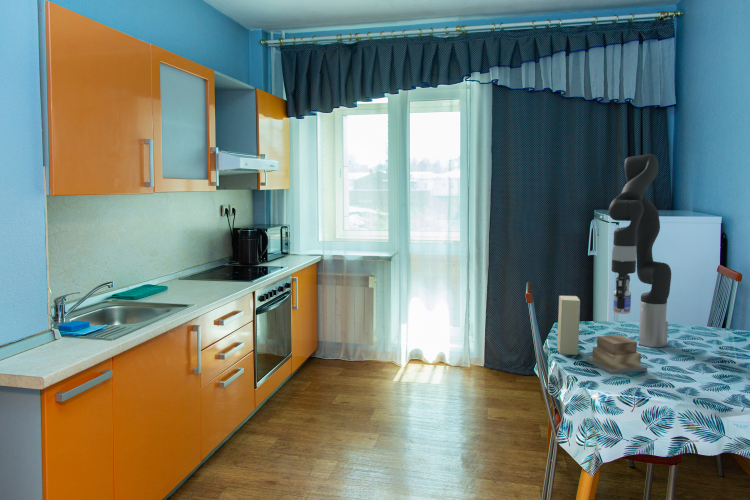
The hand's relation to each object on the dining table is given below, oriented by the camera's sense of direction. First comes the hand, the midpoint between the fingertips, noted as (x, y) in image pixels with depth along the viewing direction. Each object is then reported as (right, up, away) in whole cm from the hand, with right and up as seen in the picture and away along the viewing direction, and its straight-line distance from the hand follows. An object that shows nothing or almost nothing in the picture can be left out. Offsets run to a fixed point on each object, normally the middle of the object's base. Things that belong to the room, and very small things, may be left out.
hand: (621, 306), depth 184 cm
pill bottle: (0, -2, 0) cm, 2 cm away
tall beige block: (-11, -20, +20) cm, 30 cm away
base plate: (-1, -21, +3) cm, 21 cm away
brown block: (-1, -20, +3) cm, 20 cm away
